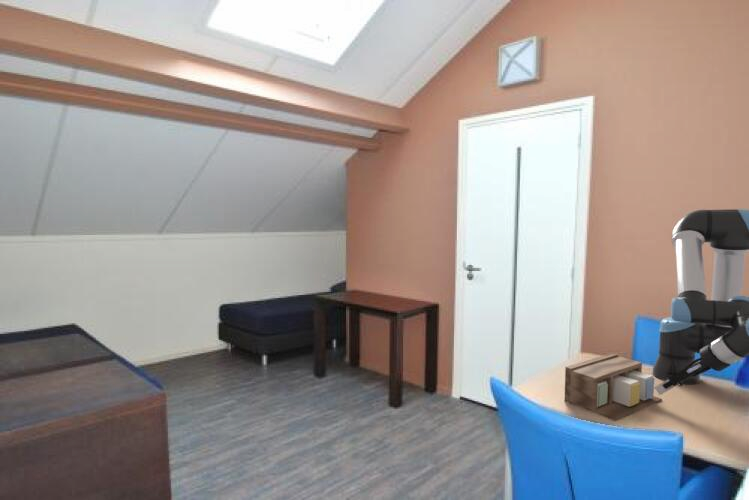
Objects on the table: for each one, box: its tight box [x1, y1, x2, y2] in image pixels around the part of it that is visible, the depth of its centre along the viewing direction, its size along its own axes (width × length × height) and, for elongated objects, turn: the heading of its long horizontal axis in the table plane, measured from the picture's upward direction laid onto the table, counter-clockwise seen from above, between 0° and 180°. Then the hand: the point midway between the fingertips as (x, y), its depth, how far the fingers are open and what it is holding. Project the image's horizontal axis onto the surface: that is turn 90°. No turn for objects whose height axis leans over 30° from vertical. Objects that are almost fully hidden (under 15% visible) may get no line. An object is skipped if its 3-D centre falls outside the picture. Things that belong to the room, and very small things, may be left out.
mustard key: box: [612, 375, 640, 407], centre depth 150 cm, size 8×5×8 cm, turn 32°
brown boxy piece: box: [564, 352, 663, 422], centre depth 153 cm, size 18×28×12 cm, turn 122°
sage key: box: [597, 380, 608, 407], centre depth 150 cm, size 8×5×8 cm, turn 32°
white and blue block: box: [628, 370, 655, 400], centre depth 155 cm, size 8×5×8 cm, turn 32°
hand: (658, 390), depth 149 cm, fingers closed
